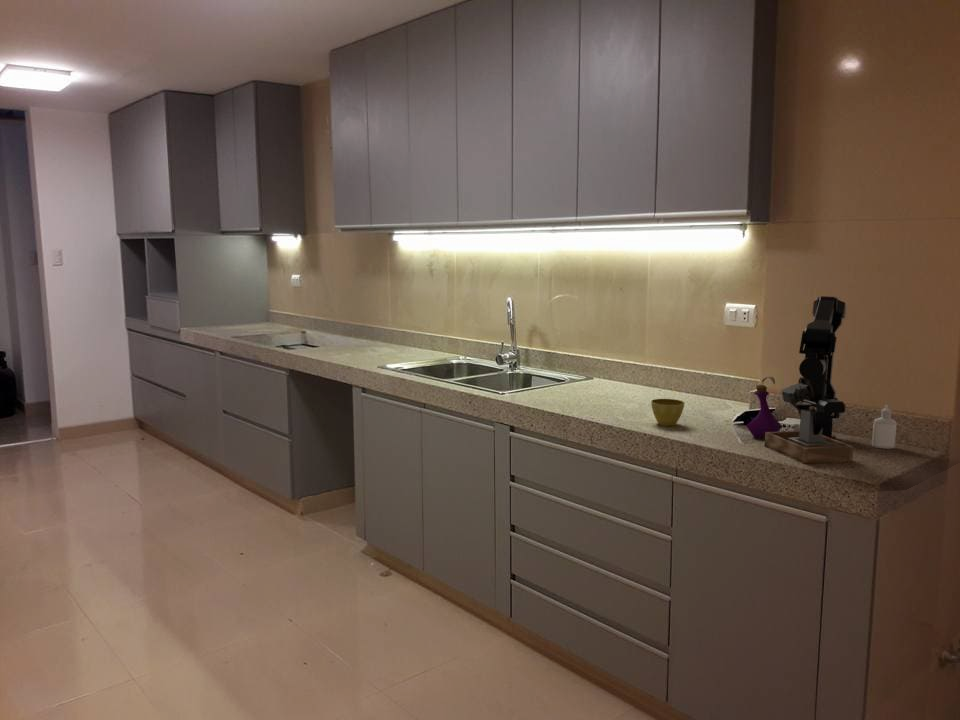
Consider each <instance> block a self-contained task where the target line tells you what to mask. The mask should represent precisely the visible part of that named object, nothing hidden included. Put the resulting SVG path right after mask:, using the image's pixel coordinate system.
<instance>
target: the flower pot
mask: <svg viewBox="0 0 960 720" xmlns="http://www.w3.org/2000/svg"><path fill="white" fill-rule="evenodd" d="M650 403H651V409H652V411H653V412H652V413H653V415H654V418H655V420H656V422H657V423H658V425H660V426H663V427H665V426H666V427H672V426H676V425H677V424H678V421H679V420H680V418H681V415H683V412H684V409H685V401H683V400H679V399H675V398H674V399H673V398H655V399H652V400H651V402H650Z"/></svg>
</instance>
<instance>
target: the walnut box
mask: <svg viewBox="0 0 960 720" xmlns="http://www.w3.org/2000/svg"><path fill="white" fill-rule="evenodd" d="M799 431H800V430H795V431H794V430H791V431H789V430H788V431H787V430H786V431H778V432H765V439H764V447H765V448H767V449H769V448H770V450H771V451H774V450H775V451H774V452H776V451H777V452H776V453H778V452H779V454H781V453H782V454H781V455H783V454H784V456H785V455H787V456H789V457H788V458H790V457H791V458H790V459H792V458H793V459H792V460H794V459H796V460H798V461H797V462H799V461H800V462H799V463H801V462H802V463H801V464H803V463H813V464H823V463H822V462H833V463H850V462H849V461H852V462H853V456H854V446H852V445H850V444H847V443H845V442H842V441H840V440H837V439H835V438H829V437H826V436H824V435H822V440H824V441H827V442H829V443H832V444H833V447H812V448H805V447H803V446H801V445H798V444H796V443H793V442H791V441H788V438H795V437H799ZM787 456H786V457H787ZM796 460H795V461H796ZM847 461H848V462H847ZM820 462H821V463H820Z"/></svg>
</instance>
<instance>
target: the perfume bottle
mask: <svg viewBox="0 0 960 720" xmlns="http://www.w3.org/2000/svg"><path fill="white" fill-rule="evenodd" d="M767 379H769V380H771V382H772V384H773V385H775V384H776V381H775V380H776V379H775V377H773V376H767V377H766V376H765V377H764V378H763V379H762V381H761V384H757V385H756V390H755V391H754V392H753V393H754V395H756V396H757V398H758V400H759V405H760V407H759V408H760V409H759V412H758V414H757V415H755V417H754V418H753V419H752V420H751V421H750V422H749V423H748V424H746V428H747V429H748V431H749V432H750V433H751V435H752V437H753V438H756V439H757V438H758V439H762V440H765V432H780V430H781V429H782V428H783V426H782V424H781V423H780V422H779V421H778V420H777V419H776V417H775V416H774V415H773V413H772V412H771V410H770V407H769V404H768V401H767V396H769V395H770V393H769V391H767V390H768V387H767V386H766V385H764V382H765V380H767Z"/></svg>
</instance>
